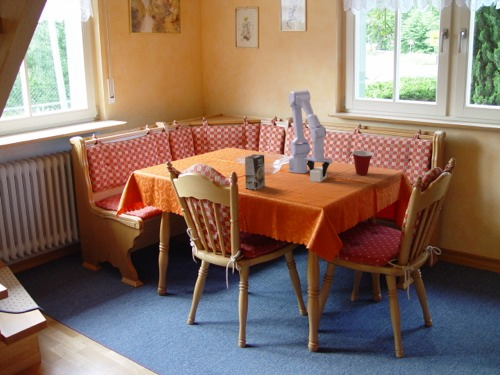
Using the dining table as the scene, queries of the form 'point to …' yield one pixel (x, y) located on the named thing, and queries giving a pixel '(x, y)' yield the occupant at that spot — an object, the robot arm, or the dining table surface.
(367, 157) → the plastic cup
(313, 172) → the cream rectangular prism
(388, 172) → the dining table surface
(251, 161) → the coffee box
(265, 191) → the dining table surface
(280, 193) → the dining table surface
